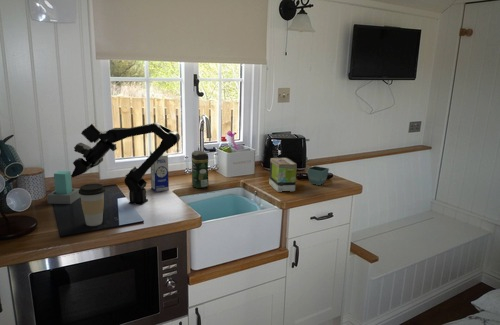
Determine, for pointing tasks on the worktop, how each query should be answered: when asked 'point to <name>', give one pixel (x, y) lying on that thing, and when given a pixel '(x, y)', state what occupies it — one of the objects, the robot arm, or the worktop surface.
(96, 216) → the coffee cup
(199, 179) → the coffee jar
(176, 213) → the worktop surface
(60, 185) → the teal peg
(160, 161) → the milk carton
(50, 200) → the socket block
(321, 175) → the flower pot
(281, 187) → the tea box
